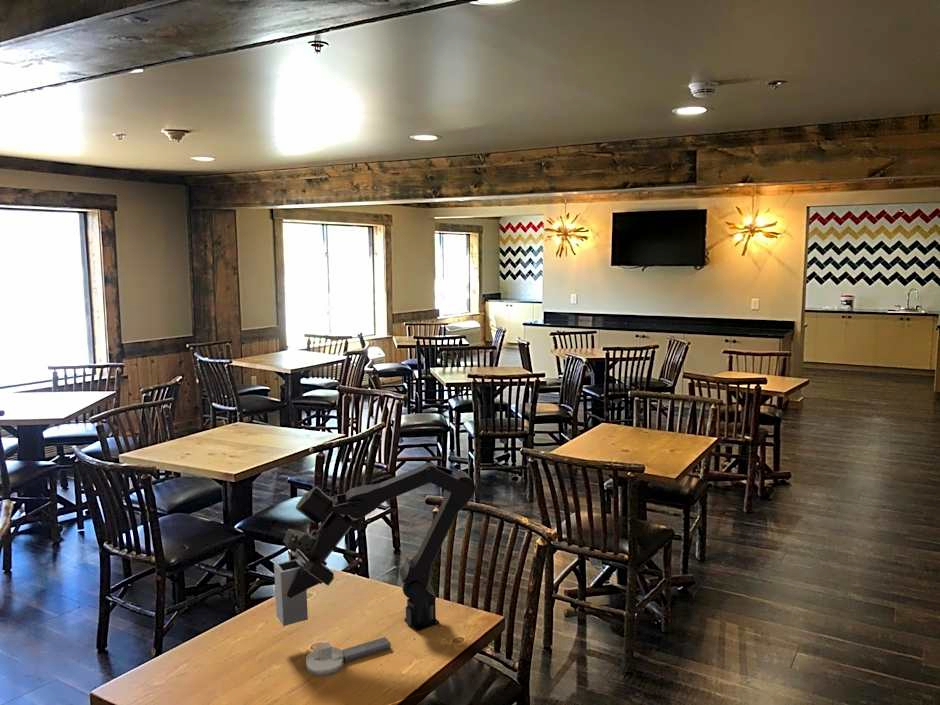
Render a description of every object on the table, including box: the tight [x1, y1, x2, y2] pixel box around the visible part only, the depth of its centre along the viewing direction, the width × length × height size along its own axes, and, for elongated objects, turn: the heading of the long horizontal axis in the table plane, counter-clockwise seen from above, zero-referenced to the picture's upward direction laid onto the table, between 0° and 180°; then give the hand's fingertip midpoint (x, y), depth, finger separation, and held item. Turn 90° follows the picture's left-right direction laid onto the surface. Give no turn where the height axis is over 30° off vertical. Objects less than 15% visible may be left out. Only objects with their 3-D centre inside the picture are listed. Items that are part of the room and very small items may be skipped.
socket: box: [273, 559, 309, 627], centre depth 161 cm, size 6×6×12 cm
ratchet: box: [305, 636, 392, 677], centre depth 157 cm, size 19×8×4 cm, turn 121°
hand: (284, 591), depth 161 cm, fingers closed on socket, 6 cm apart
